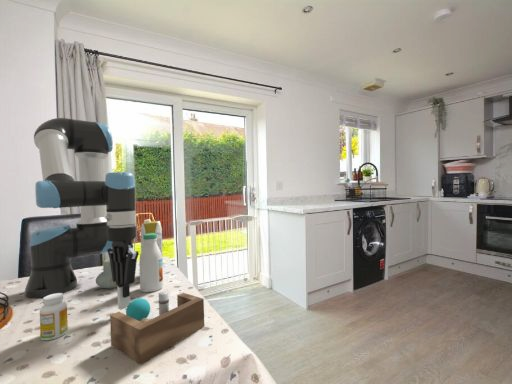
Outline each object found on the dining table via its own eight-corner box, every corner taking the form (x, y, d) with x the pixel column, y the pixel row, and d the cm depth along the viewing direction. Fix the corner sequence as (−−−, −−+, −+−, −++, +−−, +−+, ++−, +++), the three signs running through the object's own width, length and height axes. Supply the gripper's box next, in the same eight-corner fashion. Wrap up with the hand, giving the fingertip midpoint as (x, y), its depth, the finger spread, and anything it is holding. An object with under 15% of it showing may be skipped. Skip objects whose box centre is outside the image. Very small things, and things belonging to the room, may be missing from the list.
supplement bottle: (64, 326, 68) (63, 290, 68) (70, 333, 64) (69, 294, 64) (38, 336, 64) (36, 297, 64) (43, 343, 60) (42, 302, 60)
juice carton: (144, 273, 112) (142, 218, 112) (163, 271, 114) (161, 217, 114) (141, 280, 103) (139, 220, 103) (162, 278, 105) (160, 219, 105)
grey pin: (157, 326, 66) (156, 293, 66) (165, 322, 68) (164, 290, 68) (163, 329, 65) (162, 295, 65) (171, 325, 67) (170, 292, 67)
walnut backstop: (111, 345, 59) (110, 315, 59) (174, 314, 73) (173, 289, 73) (140, 364, 52) (139, 329, 52) (204, 325, 66) (203, 298, 66)
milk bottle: (155, 293, 89) (153, 235, 89) (135, 292, 91) (133, 235, 91) (167, 285, 97) (165, 232, 97) (148, 284, 98) (147, 232, 98)
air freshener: (103, 293, 91) (102, 264, 91) (92, 288, 95) (91, 262, 95) (132, 283, 100) (131, 257, 100) (120, 279, 105) (120, 255, 105)
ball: (134, 310, 65) (132, 331, 66) (155, 300, 70) (153, 320, 71) (122, 299, 68) (121, 319, 69) (143, 291, 73) (142, 310, 74)
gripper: (97, 226, 75) (99, 307, 75) (120, 228, 67) (123, 318, 67) (122, 223, 81) (125, 298, 81) (146, 225, 74) (149, 307, 74)
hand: (124, 307), depth 74 cm, fingers closed
